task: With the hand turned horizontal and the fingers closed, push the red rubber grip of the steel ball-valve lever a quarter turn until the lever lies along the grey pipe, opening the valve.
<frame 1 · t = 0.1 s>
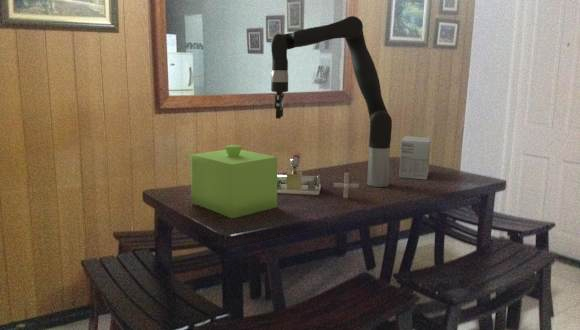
hand: (279, 117, 227), 29 cm above the table, tool pointing down, fingers open, 8 cm apart
supplement box: (414, 175, 249), on the table
canister: (233, 206, 192), on the table
valve fixture: (294, 190, 216), on the table
valve lever: (296, 160, 219), point 12 cm above the table, hinge at 0.0°
pipe connector: (345, 197, 206), on the table
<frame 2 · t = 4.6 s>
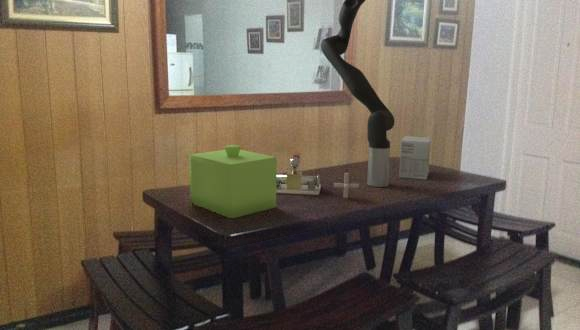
nothing on the table moved.
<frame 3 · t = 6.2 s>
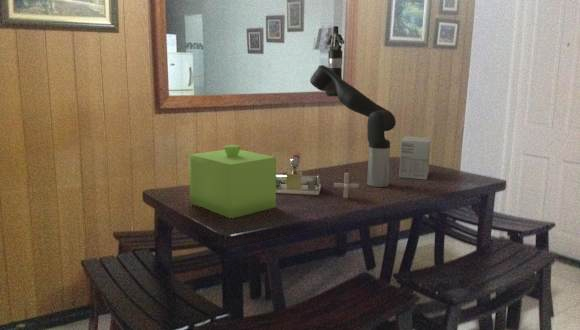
hand: (335, 26, 271), 73 cm above the table, tool pointing upward, fingers closed
nothing on the table moved.
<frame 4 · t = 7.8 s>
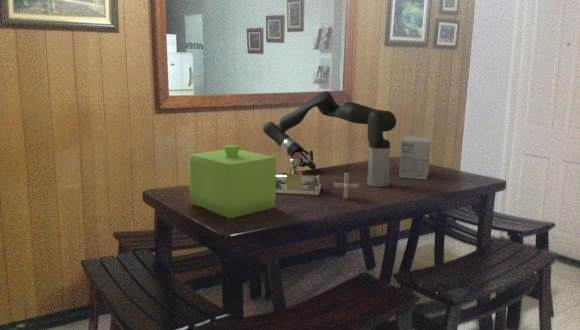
hand: (314, 168, 246), 3 cm above the table, tool tilted 65°, fingers closed
nothing on the table moved.
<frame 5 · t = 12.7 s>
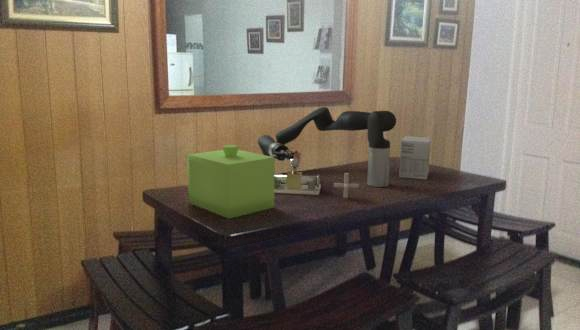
hand: (292, 158, 224), 12 cm above the table, tool horizontal, fingers closed
valve lever: (296, 160, 219), point 12 cm above the table, hinge at 0.8°, touching gripper
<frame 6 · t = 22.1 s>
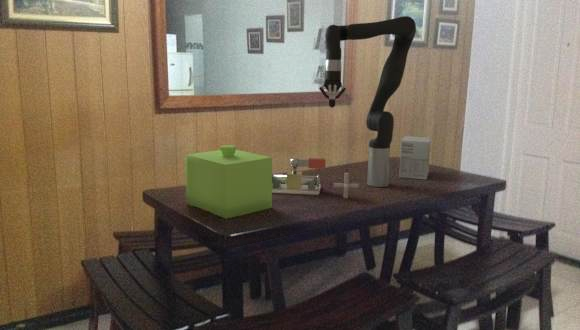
hand: (331, 107, 237), 33 cm above the table, tool pointing down, fingers closed
valve lever: (307, 163, 213), point 12 cm above the table, hinge at 87.9°
at the end: valve lever at +88° (first picture: +0°); pipe connector moved 0.2 cm from its start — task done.
